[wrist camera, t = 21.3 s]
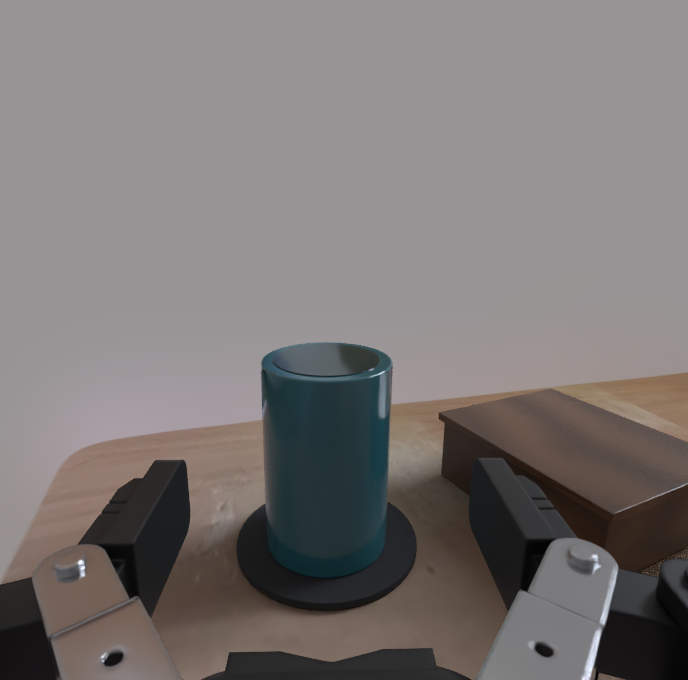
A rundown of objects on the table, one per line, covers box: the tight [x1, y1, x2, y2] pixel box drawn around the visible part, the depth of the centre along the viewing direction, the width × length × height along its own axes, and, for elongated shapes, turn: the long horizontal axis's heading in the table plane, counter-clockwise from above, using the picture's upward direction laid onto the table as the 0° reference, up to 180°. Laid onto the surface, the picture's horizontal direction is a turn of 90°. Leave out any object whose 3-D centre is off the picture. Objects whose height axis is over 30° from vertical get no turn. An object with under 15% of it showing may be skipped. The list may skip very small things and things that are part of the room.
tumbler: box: [261, 343, 393, 578], centre depth 25 cm, size 6×6×10 cm
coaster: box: [237, 502, 416, 610], centre depth 27 cm, size 10×10×1 cm
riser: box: [439, 389, 688, 572], centre depth 30 cm, size 11×13×4 cm
